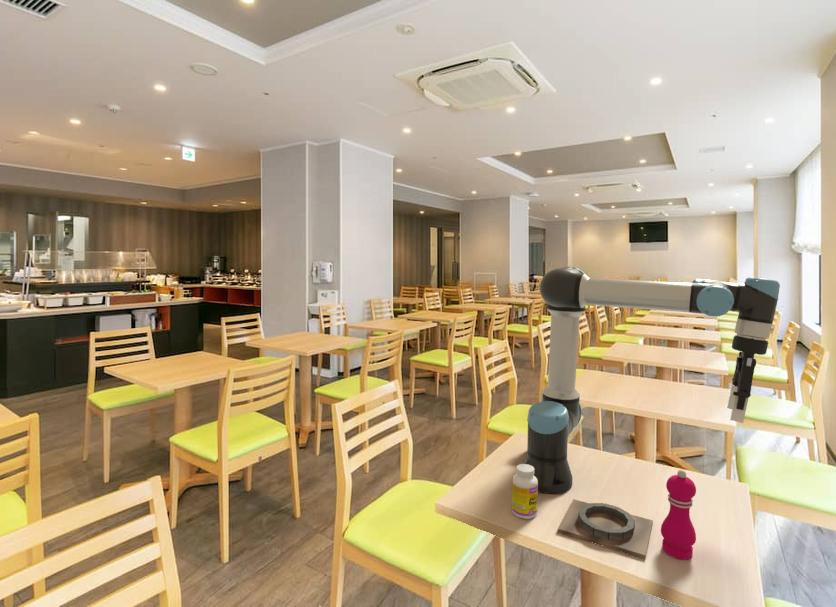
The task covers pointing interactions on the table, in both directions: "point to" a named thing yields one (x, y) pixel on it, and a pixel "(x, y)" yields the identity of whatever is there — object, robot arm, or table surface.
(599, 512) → the mill stand
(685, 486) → the pepper mill
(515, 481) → the supplement bottle
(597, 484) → the table surface
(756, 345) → the robot arm
